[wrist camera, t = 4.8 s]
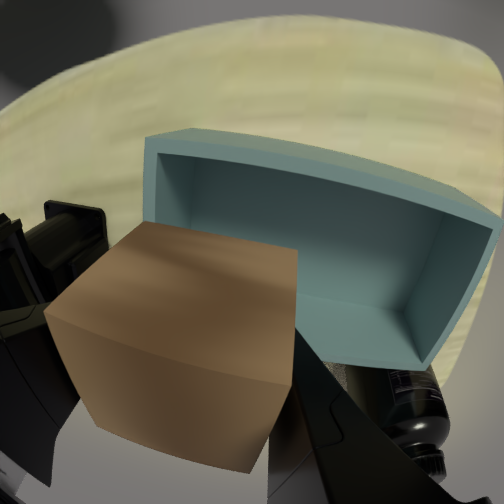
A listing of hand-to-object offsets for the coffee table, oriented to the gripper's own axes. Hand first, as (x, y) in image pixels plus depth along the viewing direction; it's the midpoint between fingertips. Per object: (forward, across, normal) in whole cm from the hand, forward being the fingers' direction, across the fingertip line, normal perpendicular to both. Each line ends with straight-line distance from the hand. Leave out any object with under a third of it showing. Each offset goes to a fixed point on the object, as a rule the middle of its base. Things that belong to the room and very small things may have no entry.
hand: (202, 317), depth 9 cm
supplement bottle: (+10, +13, -9) cm, 18 cm away
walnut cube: (+1, 0, 0) cm, 1 cm away
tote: (+9, +4, 0) cm, 10 cm away
